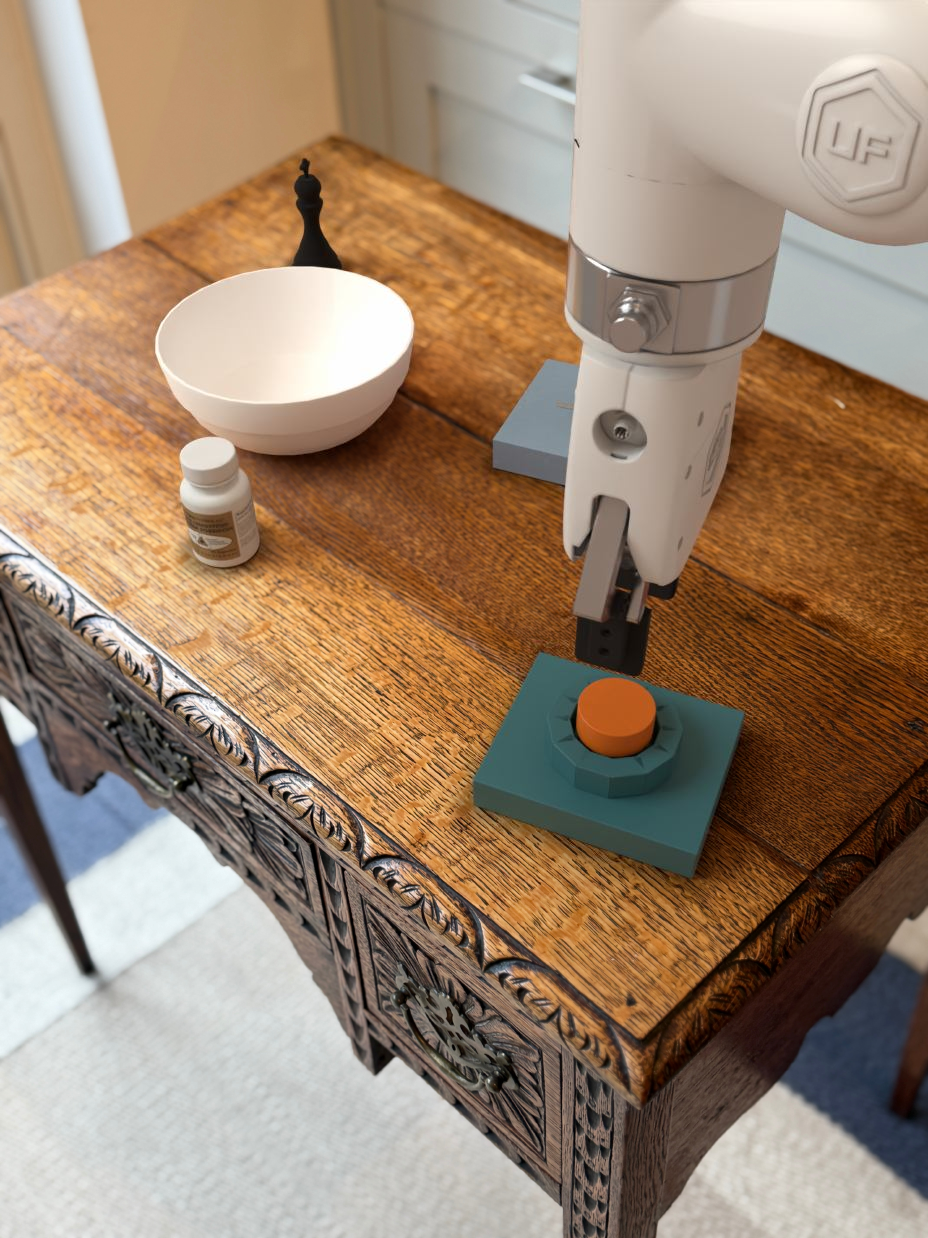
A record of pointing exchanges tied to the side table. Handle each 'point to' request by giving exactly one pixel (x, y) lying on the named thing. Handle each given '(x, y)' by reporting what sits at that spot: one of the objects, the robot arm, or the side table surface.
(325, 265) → the chess piece
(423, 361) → the side table surface
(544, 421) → the dial base
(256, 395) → the bowl
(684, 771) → the button block
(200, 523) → the pill bottle
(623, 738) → the button
